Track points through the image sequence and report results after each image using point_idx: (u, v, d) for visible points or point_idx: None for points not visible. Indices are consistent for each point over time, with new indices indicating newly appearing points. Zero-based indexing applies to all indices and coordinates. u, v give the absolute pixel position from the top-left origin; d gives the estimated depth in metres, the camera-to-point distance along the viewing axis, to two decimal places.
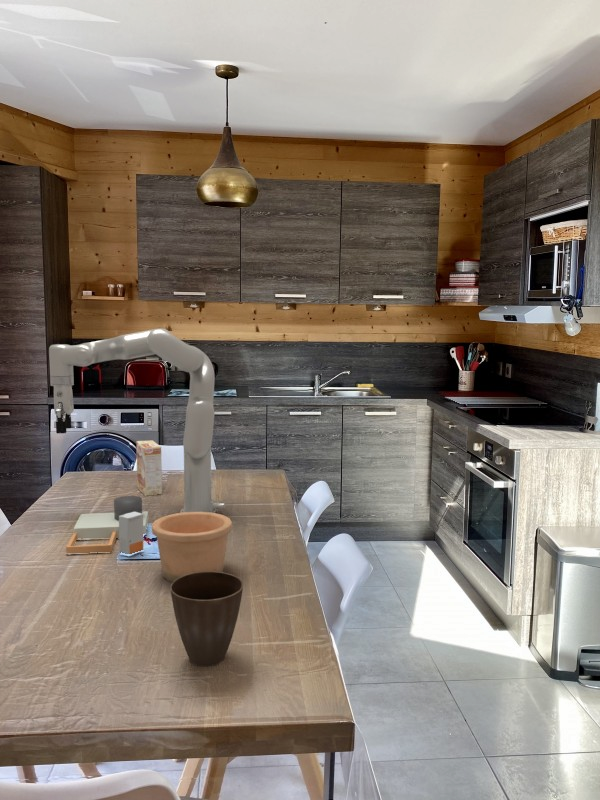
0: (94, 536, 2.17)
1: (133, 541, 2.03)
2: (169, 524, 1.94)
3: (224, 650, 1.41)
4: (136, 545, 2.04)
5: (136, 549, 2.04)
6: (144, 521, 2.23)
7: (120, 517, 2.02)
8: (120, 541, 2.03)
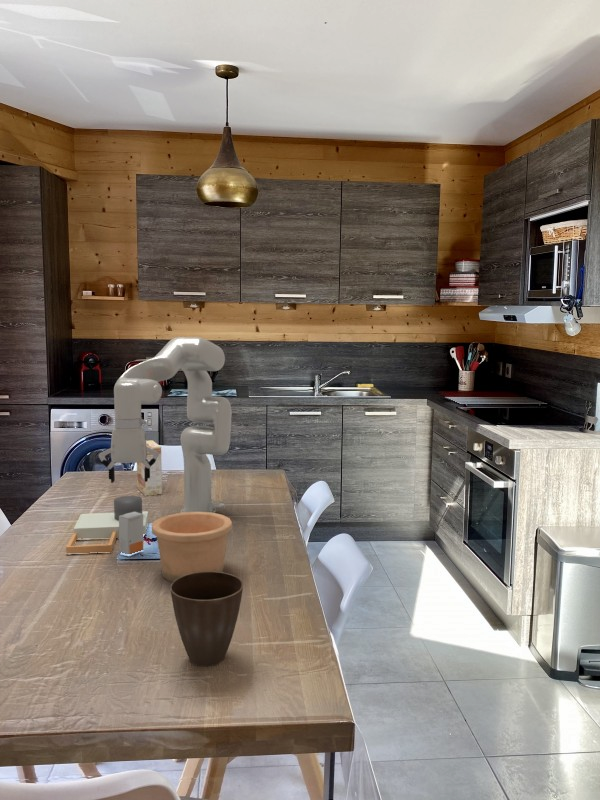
0: (94, 536, 2.17)
1: (133, 541, 2.03)
2: (169, 524, 1.94)
3: (224, 650, 1.41)
4: (136, 545, 2.04)
5: (136, 549, 2.04)
6: (144, 521, 2.23)
7: (120, 517, 2.02)
8: (120, 541, 2.03)
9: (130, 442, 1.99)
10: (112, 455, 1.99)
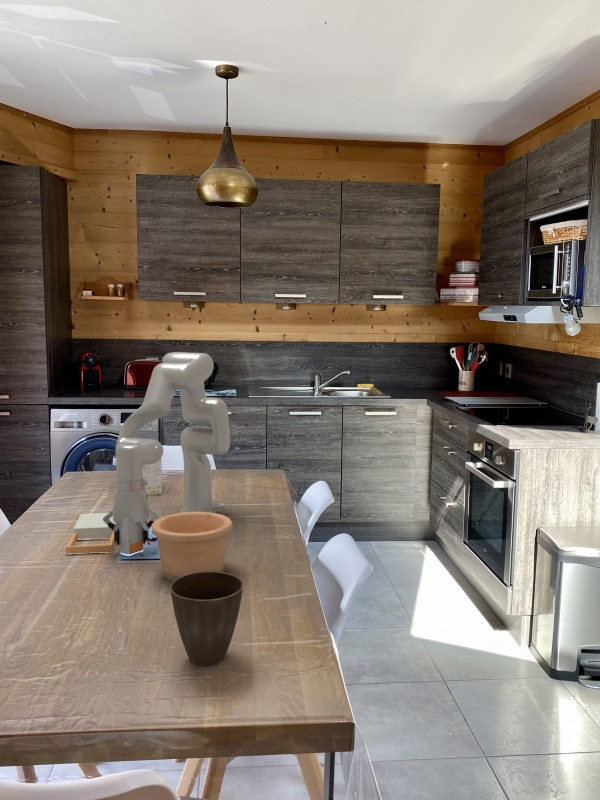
0: (94, 536, 2.17)
1: (133, 541, 2.03)
2: (169, 524, 1.94)
3: (224, 650, 1.41)
4: (136, 545, 2.04)
5: (137, 549, 2.04)
6: None
7: None
8: (120, 541, 2.03)
9: (132, 503, 2.01)
10: (114, 516, 2.01)
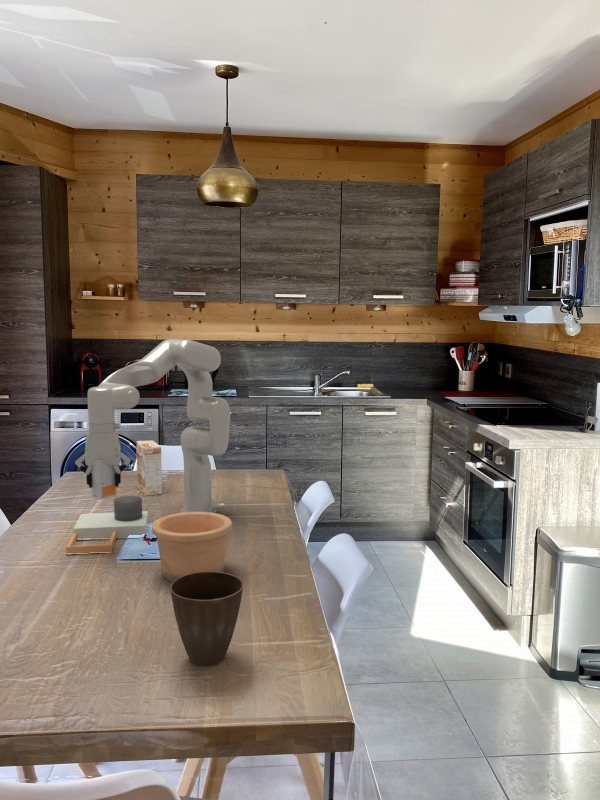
0: (94, 536, 2.17)
1: (105, 484, 2.04)
2: (169, 524, 1.94)
3: (224, 650, 1.41)
4: (109, 488, 2.06)
5: (109, 492, 2.06)
6: (144, 521, 2.23)
7: None
8: (93, 484, 2.05)
9: (104, 446, 2.03)
10: (86, 459, 2.03)
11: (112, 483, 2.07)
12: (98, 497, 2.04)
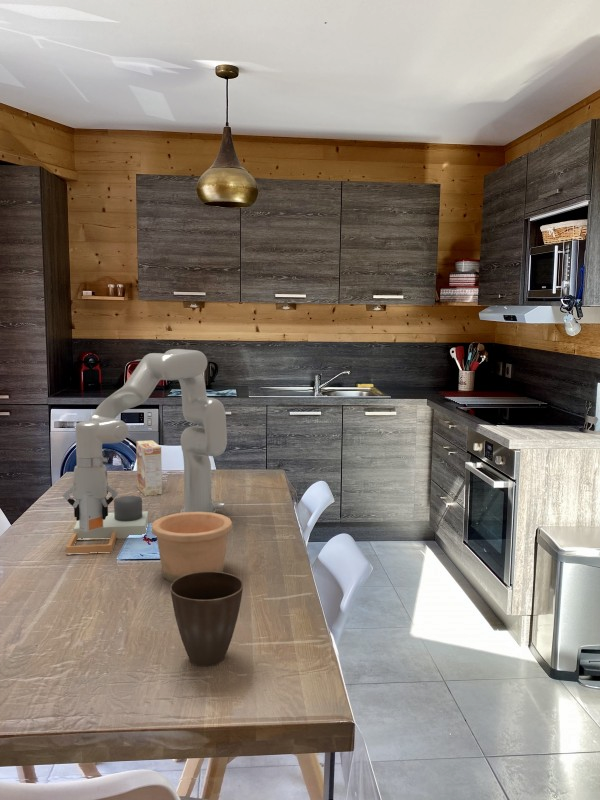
0: (94, 536, 2.17)
1: (92, 517, 2.08)
2: (169, 524, 1.94)
3: (224, 650, 1.41)
4: (96, 521, 2.09)
5: (96, 524, 2.09)
6: (144, 521, 2.23)
7: None
8: (80, 517, 2.08)
9: (91, 480, 2.06)
10: (74, 492, 2.06)
11: (99, 516, 2.10)
12: (85, 530, 2.07)
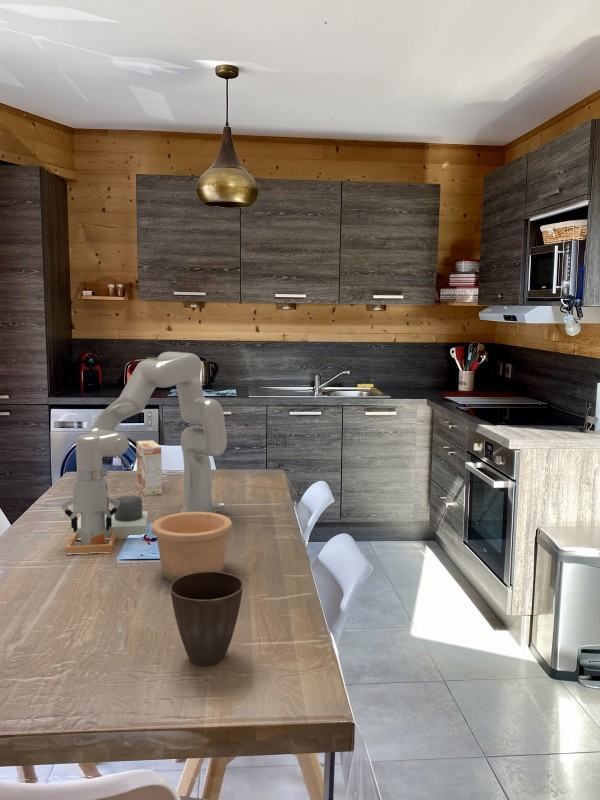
0: None
1: (94, 534, 2.09)
2: (169, 524, 1.94)
3: (224, 650, 1.41)
4: (98, 538, 2.10)
5: (98, 542, 2.10)
6: (144, 521, 2.23)
7: None
8: (82, 534, 2.09)
9: (91, 493, 2.07)
10: (74, 506, 2.07)
11: (101, 533, 2.11)
12: None
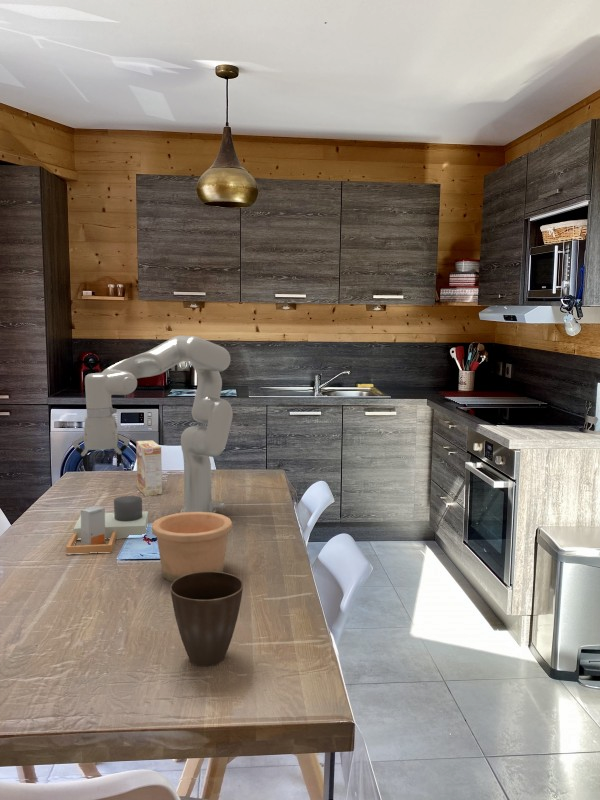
0: None
1: (94, 534, 2.09)
2: (169, 524, 1.94)
3: (224, 650, 1.41)
4: (98, 538, 2.10)
5: (98, 542, 2.10)
6: (144, 521, 2.23)
7: (82, 511, 2.08)
8: (82, 534, 2.09)
9: (102, 430, 2.11)
10: (85, 443, 2.12)
11: (101, 533, 2.11)
12: None
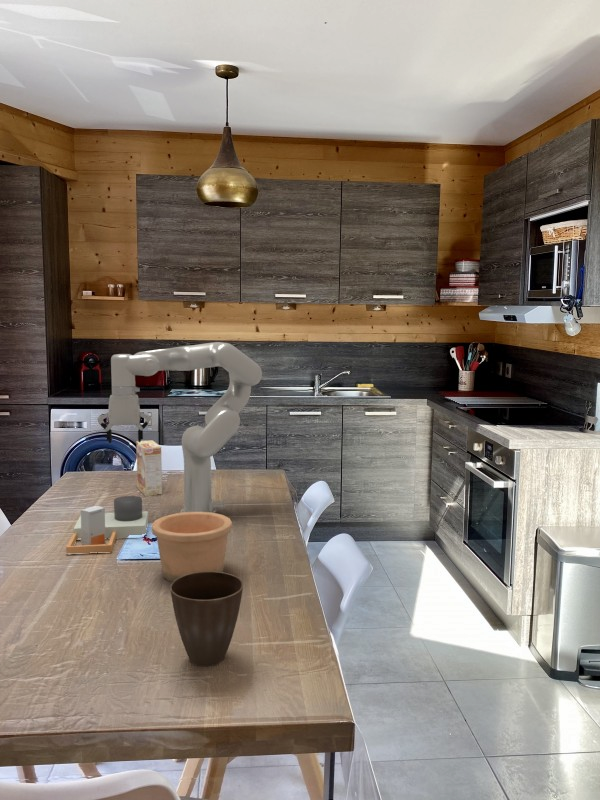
0: None
1: (94, 534, 2.09)
2: (169, 524, 1.94)
3: (224, 650, 1.41)
4: (98, 538, 2.10)
5: (98, 542, 2.10)
6: (144, 521, 2.23)
7: (82, 511, 2.08)
8: (82, 534, 2.09)
9: (125, 407, 2.27)
10: (109, 418, 2.27)
11: (101, 533, 2.11)
12: None
